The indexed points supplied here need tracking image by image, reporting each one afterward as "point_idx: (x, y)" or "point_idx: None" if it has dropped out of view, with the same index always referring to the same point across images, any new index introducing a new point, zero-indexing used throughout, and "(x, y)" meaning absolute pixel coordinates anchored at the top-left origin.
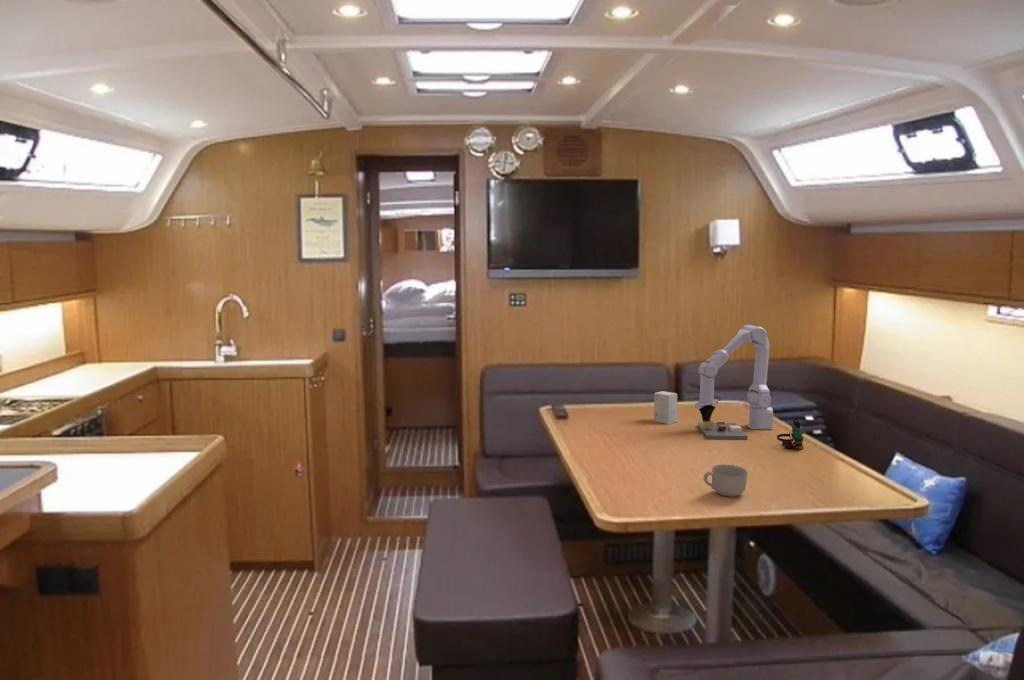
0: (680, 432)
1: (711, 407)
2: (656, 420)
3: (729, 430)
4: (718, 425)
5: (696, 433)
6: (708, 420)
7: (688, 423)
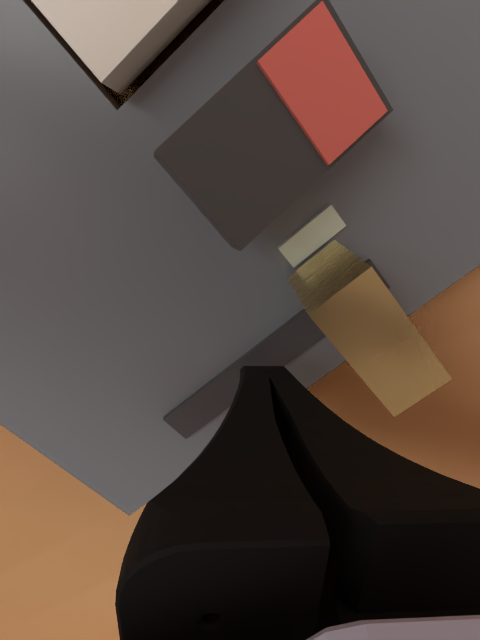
0: (457, 460)
1: (320, 563)
2: None
3: (172, 36)
4: (330, 165)
5: None
6: (286, 380)
7: (120, 569)
